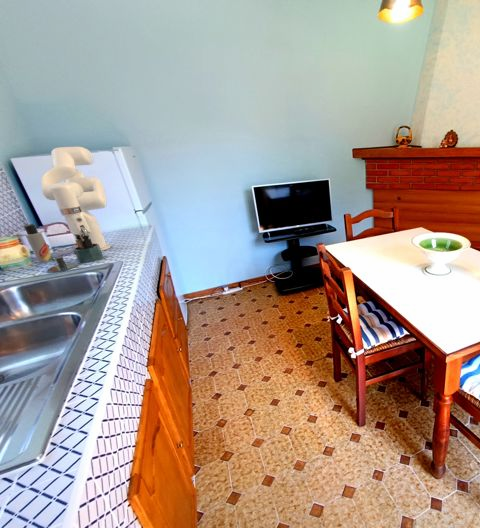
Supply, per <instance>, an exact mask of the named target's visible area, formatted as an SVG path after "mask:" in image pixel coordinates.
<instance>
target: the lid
mask: <svg viewBox="0 0 480 528" xmlns="http://www.w3.org/2000/svg"><path fill="white" fill-rule="evenodd" d="M54 260H55V262H56V264H57V265H54V266H52V267H49V268H48V269H47V270H46V271H47V273H49V274H53V273H61V272H65V271H69V270H71V269H74V268H76V267H78V266H79V262H73V261H72V262H65V260H64V257H63V256H57V257H55V258H54Z"/></svg>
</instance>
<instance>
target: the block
mask: <svg viewBox="0 0 480 528" xmlns="http://www.w3.org/2000/svg"><path fill="white" fill-rule="evenodd" d="M90 241H91V239H90ZM75 243H76V245H77V247H78V248H79V249H82V250H83V249H85V248H84V246H83V243H82V239H75ZM91 244H92V241H91ZM92 247H94V246H93V244H92ZM92 247H90V248H92ZM86 249H88V248H86Z"/></svg>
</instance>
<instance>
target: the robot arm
mask: <svg viewBox="0 0 480 528" xmlns="http://www.w3.org/2000/svg"><path fill="white" fill-rule="evenodd" d="M50 153H51V154H50V155H51V166H52V167H51V168H50V169H48V170H47V171H46V172H45V173H44V174H43V175H42V176H41V179H40V182H41V183H40V185H41V192H42V195H43V196H44V198H46V199H47V200H49V201H55V202H56V205H57V207H58V210H59V212H60V214H61V216H62V217H64V219H65V222H66V225H67V227H68V230H69V232H70V233H71V234H73V235H74V238H75V240H78V239H82V243H83V246H84V248H85V249H86V248H90V247H92V244H99V246H100V249H101V251H102V252H103V251H106V250H109V249H110V248H111V247H112V246H111V244H110V243H107V242H106V240H105V238H104V234H103V232H102V229H101V227H100V224H99V222H98V219H97V218H96V216H95V215H94V214H92V212H91V213H90V212H89V211H93V210H100V209H105V208H106V207H107V198H106V192H105V187H104V184H103V183H102V180H100V179H99V178H98V177H95V176H89V177H85V175H84V173H83V172H82V171H81V170H79V169H78V168H76V167H79V166H90V165H93V164H94V156H93V154H92V152H91V151H90V150H89V149H88V148H85V147H83V146H61V147H55V148H53V149H52V150H51V152H50ZM90 239H91V241H92V244H91V241H90Z"/></svg>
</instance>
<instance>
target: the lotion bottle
mask: <svg viewBox="0 0 480 528" xmlns="http://www.w3.org/2000/svg"><path fill="white" fill-rule="evenodd" d="M23 228H24V229H25V230H24V231H25V232H26V235H25V238H26V240H27V242H28V245H29V246H30V248H31V251H32V252H33V254H34V256H35V258H36V260H37V262H38V264H47V263H51V262H53V261H54V260H55V258H54V257H53V255H52V253H51V250H50V248H49V246H48V244H47V242H46V240H45V237H44V235H43V234H42V232H39V231H38V229H37V226H36V225H35V224H33V223H28V224H25V225H24V226H23Z"/></svg>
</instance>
